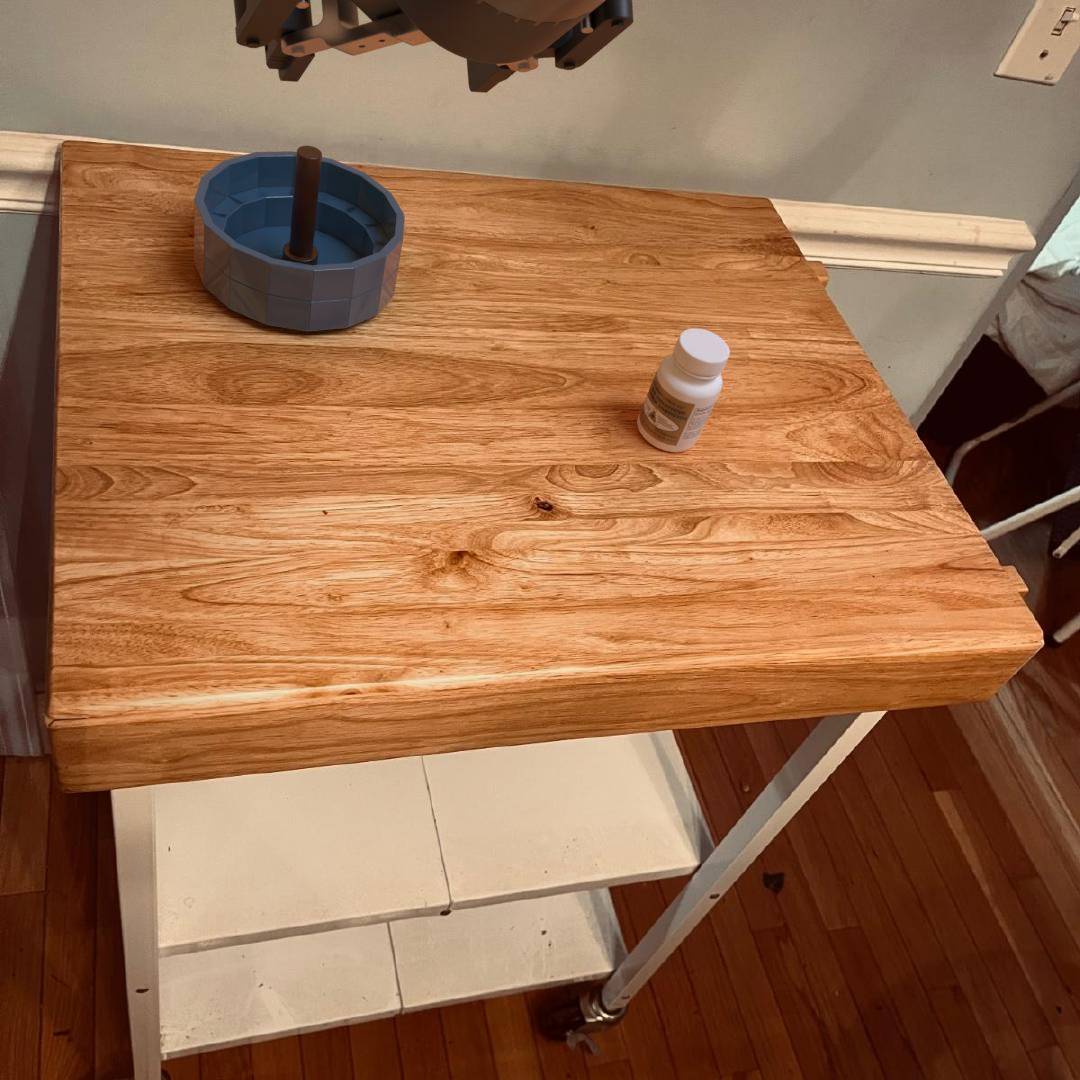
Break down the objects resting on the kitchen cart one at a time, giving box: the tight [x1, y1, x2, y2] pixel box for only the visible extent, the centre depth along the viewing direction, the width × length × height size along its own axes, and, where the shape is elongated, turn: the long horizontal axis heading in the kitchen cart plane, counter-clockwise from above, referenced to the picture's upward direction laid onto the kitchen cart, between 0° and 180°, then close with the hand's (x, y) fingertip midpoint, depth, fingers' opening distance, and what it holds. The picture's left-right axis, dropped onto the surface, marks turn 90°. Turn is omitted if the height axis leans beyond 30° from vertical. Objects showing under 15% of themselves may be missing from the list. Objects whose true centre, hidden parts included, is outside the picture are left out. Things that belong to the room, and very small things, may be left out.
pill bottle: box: [636, 327, 731, 453], centre depth 71 cm, size 4×4×8 cm
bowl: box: [193, 150, 406, 332], centre depth 73 cm, size 14×14×6 cm
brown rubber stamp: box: [282, 145, 323, 265], centre depth 72 cm, size 2×2×9 cm
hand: (382, 63), depth 47 cm, fingers open, 8 cm apart
